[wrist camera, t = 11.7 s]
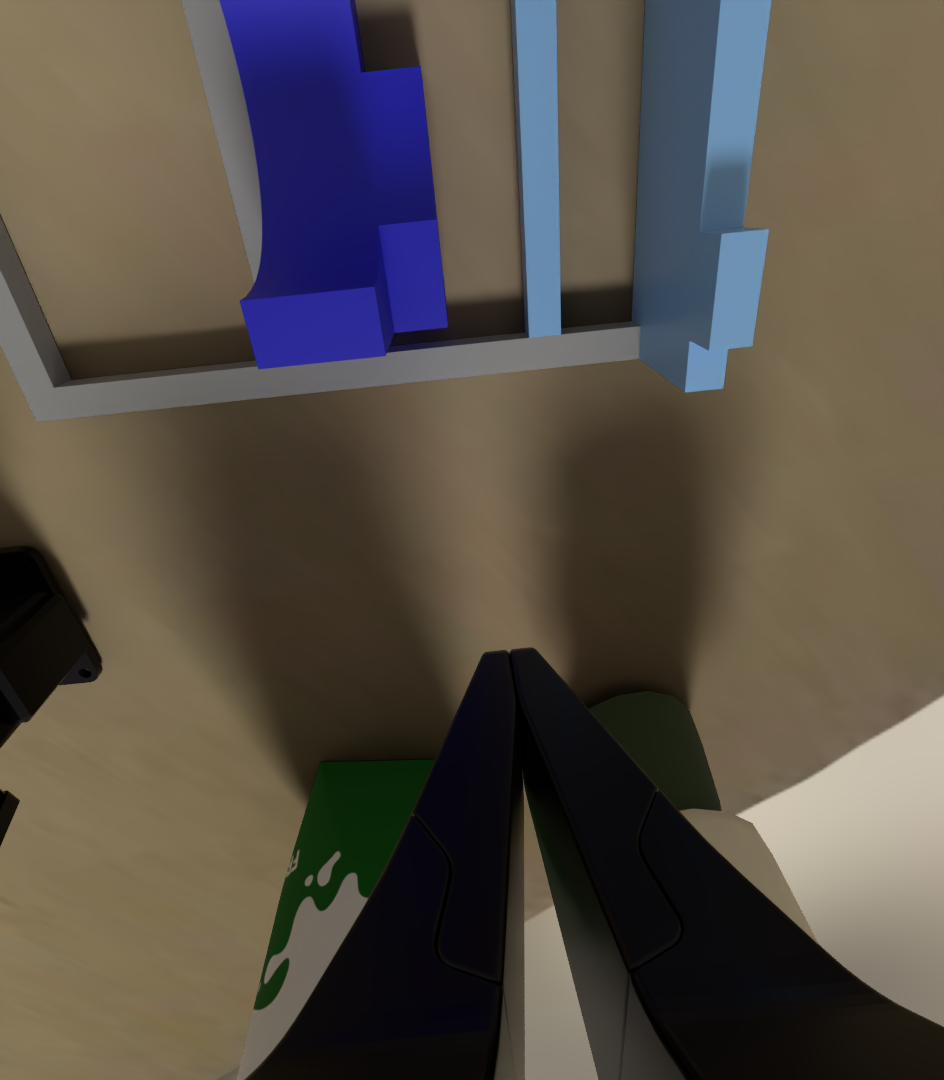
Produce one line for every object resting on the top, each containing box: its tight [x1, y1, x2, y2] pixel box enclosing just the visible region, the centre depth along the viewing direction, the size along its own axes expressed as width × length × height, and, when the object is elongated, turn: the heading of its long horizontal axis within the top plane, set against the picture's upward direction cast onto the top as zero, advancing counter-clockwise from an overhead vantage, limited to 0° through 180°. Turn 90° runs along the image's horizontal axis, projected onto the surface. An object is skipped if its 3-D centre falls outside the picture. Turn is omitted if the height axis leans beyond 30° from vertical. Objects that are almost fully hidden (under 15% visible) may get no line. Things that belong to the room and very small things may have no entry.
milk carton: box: [237, 759, 435, 1080], centre depth 22 cm, size 9×9×20 cm
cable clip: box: [219, 0, 448, 369], centre depth 13 cm, size 12×4×6 cm, turn 5°
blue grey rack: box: [0, 0, 771, 422], centre depth 13 cm, size 20×16×6 cm
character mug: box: [589, 691, 818, 943], centre depth 23 cm, size 11×7×13 cm, turn 43°
